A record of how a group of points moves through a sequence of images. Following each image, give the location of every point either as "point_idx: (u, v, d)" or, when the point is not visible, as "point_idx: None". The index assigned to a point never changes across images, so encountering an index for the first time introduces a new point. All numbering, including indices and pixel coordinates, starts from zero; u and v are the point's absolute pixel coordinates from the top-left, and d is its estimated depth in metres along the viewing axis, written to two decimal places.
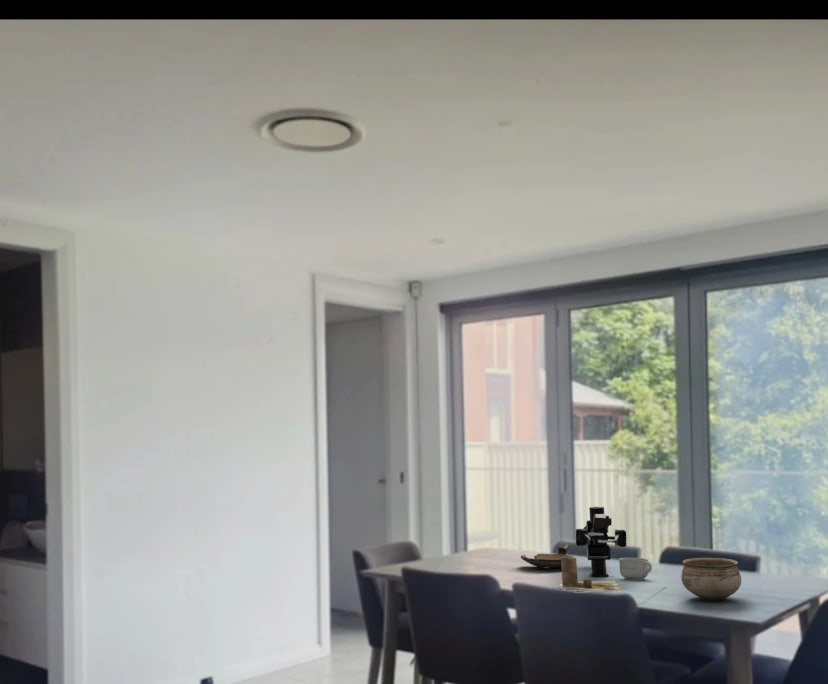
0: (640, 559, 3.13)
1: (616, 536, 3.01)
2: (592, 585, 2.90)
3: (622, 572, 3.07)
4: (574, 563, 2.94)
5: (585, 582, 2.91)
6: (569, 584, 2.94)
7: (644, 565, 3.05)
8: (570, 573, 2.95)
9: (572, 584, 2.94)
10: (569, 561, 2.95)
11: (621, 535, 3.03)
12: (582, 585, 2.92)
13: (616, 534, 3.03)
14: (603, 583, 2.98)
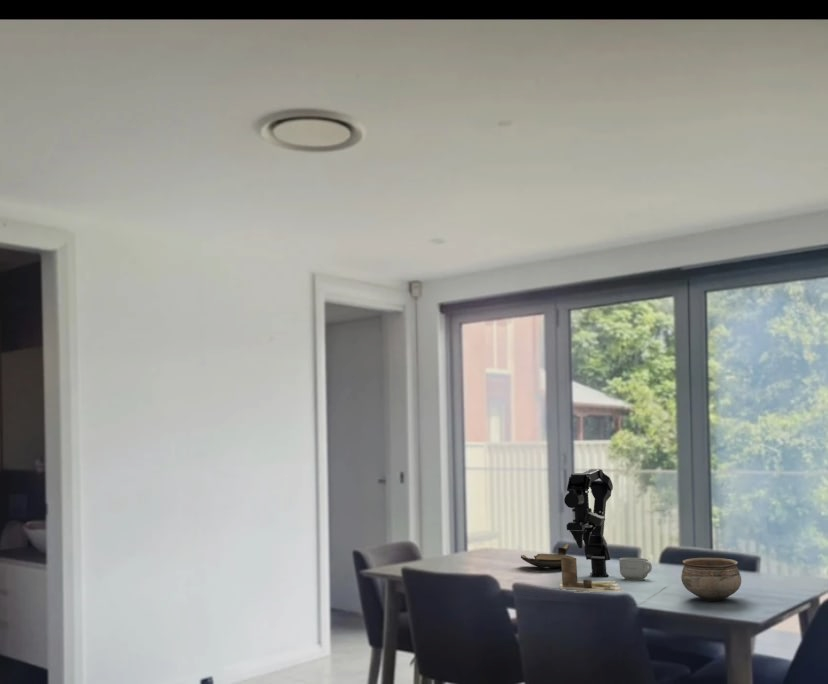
0: (640, 559, 3.13)
1: (590, 534, 3.13)
2: (592, 585, 2.90)
3: (622, 572, 3.07)
4: (574, 563, 2.94)
5: (585, 582, 2.91)
6: (569, 584, 2.94)
7: (644, 565, 3.05)
8: (570, 573, 2.95)
9: (572, 584, 2.94)
10: (569, 561, 2.95)
11: None
12: (582, 585, 2.92)
13: (591, 531, 3.13)
14: (603, 583, 2.98)
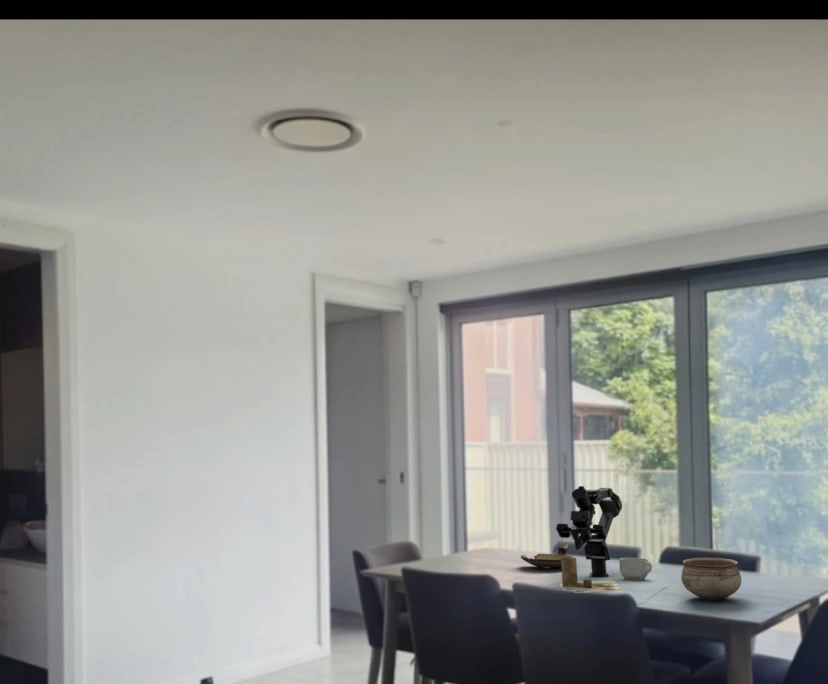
0: (640, 559, 3.13)
1: (580, 538, 3.05)
2: (592, 585, 2.90)
3: (622, 572, 3.07)
4: (574, 563, 2.94)
5: (585, 582, 2.91)
6: (569, 584, 2.94)
7: (644, 565, 3.05)
8: (570, 573, 2.95)
9: (572, 584, 2.94)
10: (569, 561, 2.95)
11: (587, 533, 3.05)
12: (582, 585, 2.92)
13: (581, 534, 3.05)
14: (603, 583, 2.98)
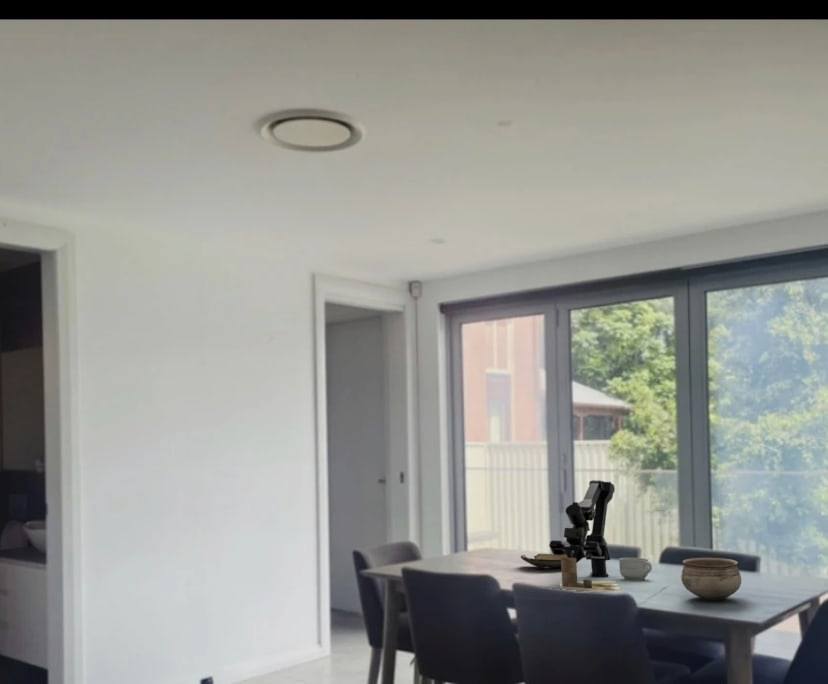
0: (640, 559, 3.13)
1: (574, 555, 2.98)
2: (592, 585, 2.90)
3: (622, 572, 3.07)
4: (574, 563, 2.94)
5: (585, 582, 2.90)
6: (569, 584, 2.94)
7: (644, 565, 3.05)
8: (570, 573, 2.95)
9: (572, 584, 2.94)
10: (569, 561, 2.95)
11: (581, 550, 2.98)
12: (582, 585, 2.92)
13: (575, 551, 2.98)
14: (603, 583, 2.98)
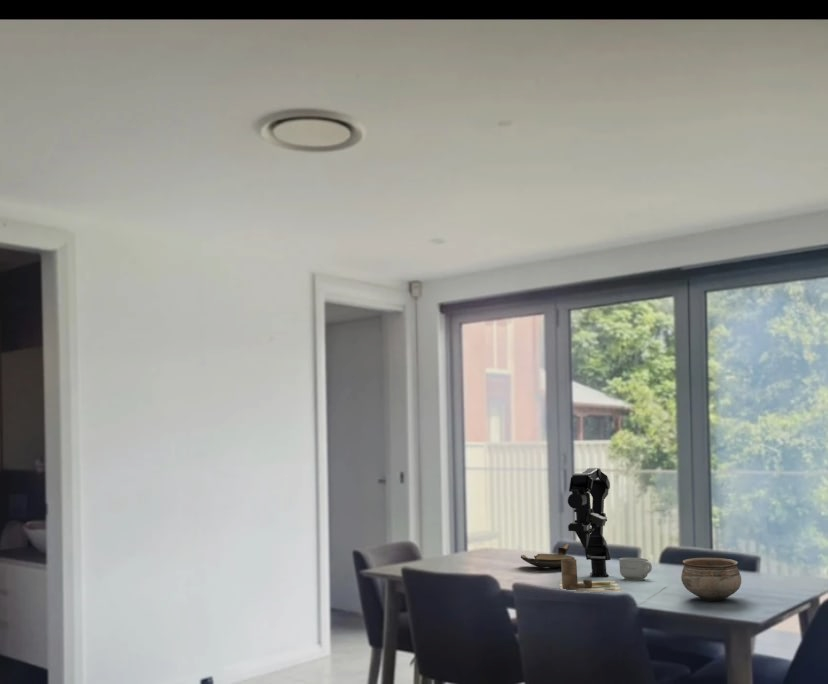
0: (640, 559, 3.13)
1: (589, 536, 3.08)
2: (593, 584, 2.92)
3: (622, 572, 3.07)
4: (575, 564, 2.91)
5: (588, 582, 2.90)
6: (570, 587, 2.90)
7: (644, 565, 3.05)
8: (571, 575, 2.90)
9: (574, 586, 2.90)
10: (570, 563, 2.91)
11: (590, 529, 3.10)
12: (584, 586, 2.90)
13: (590, 532, 3.08)
14: None
